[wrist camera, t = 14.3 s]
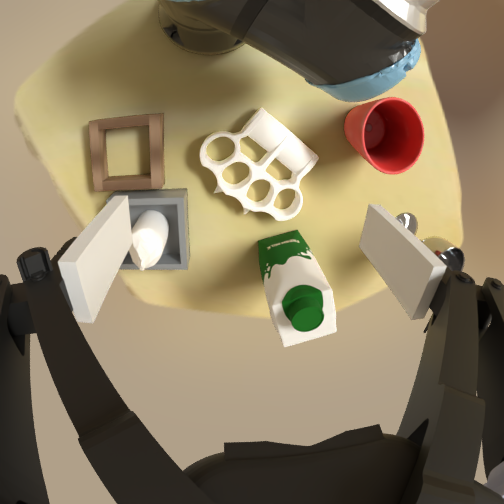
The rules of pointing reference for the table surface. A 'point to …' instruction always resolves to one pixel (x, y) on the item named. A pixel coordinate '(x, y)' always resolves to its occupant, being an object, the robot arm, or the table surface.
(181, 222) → the tray
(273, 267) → the milk carton
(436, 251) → the wine glass
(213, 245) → the table surface
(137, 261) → the white tall rounded piece
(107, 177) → the holder
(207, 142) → the white brass knuckles
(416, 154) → the flower pot
